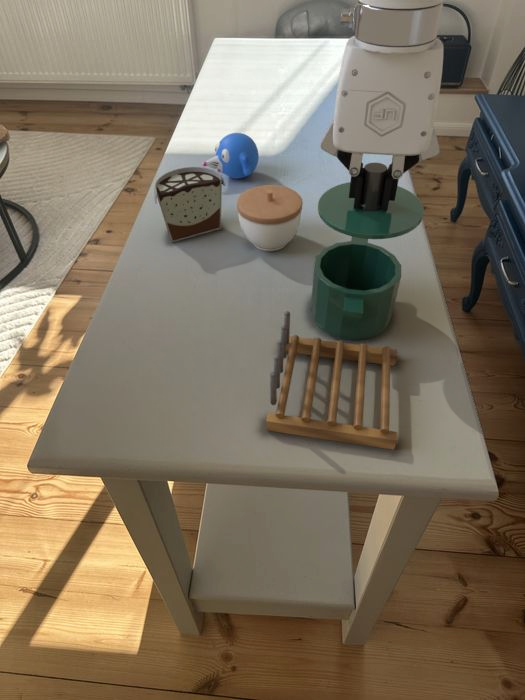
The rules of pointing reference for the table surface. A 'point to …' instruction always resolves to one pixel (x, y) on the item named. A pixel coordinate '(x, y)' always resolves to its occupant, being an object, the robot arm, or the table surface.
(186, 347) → the table surface
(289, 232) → the trinket box
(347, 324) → the pot
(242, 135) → the blue mole toy
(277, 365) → the dish rack
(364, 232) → the lid
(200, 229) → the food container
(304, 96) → the table surface
